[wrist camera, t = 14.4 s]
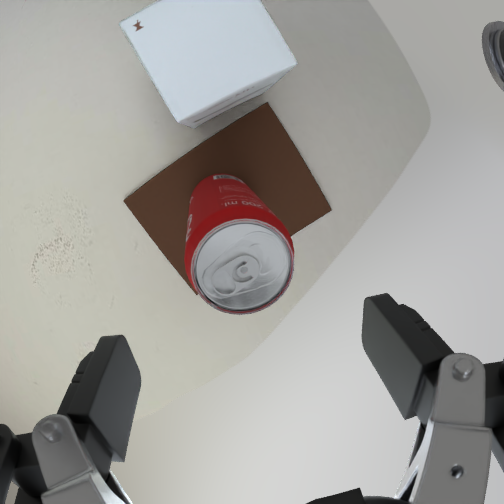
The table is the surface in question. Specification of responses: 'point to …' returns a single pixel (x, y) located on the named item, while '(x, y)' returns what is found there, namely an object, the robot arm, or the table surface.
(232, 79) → the white packaging box
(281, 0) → the table surface
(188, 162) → the mat
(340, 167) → the table surface
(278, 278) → the beverage can
